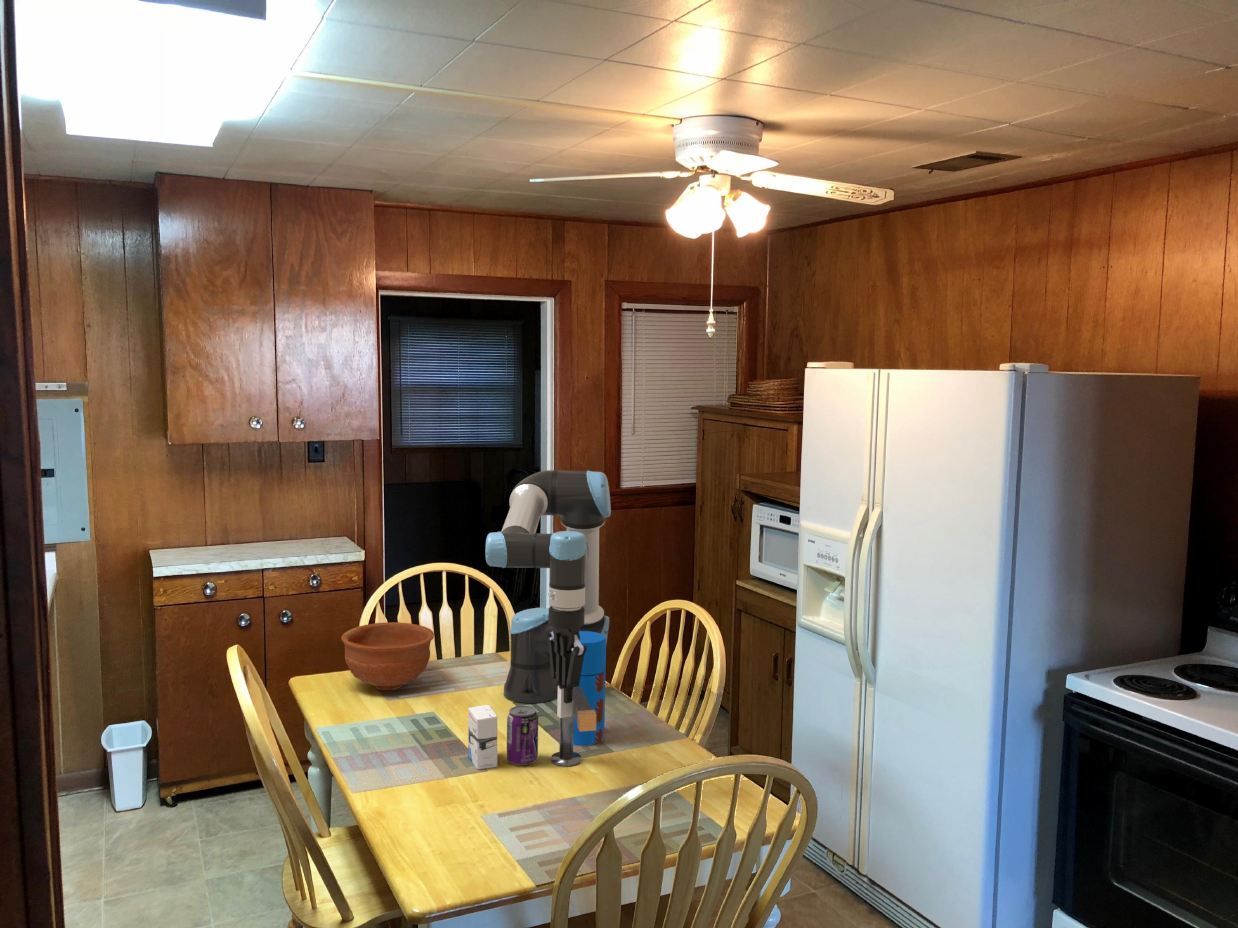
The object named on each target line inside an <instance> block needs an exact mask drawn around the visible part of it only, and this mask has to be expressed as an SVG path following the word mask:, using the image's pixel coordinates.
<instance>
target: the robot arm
mask: <svg viewBox="0 0 1238 928" xmlns="http://www.w3.org/2000/svg"><path fill="white" fill-rule="evenodd" d="M511 491H512V492H511V494H510V496H509V502H508V503H509V510H508V513H507V516H506V518H505V520H504V524H503V525H502V529H501V531H497V532H495V531H494V532H489V533H488V534H487V536H486V539H485V561H486V564H487V565H488V566H489V567H497V568H502V569H505V568H519V569H520V568H521V569H522V568H525V569H526V568H529V569H530V568H533V569H534V568H535V569H549V582H548V583H549V584H548V585H549V592H548V593H547V594H548V605H550V606H549V607H535V608H527V609H523V610H522V611H521V610H520V611H519V612H516V613H515V614H514V615H513V616H512V617H511V621H510V622H511V623H510V631H509V633H510V667H509V670H508V674H507V677H506V681H505V683H504V685H503V696H504V698H506V699H508V700H510V701H512V702H517V703H525V704H537V703H545V702H549V701H552V700H555V699H556V698H557V708H556V709H557V710H556V711H557V714H556V715H557V716H556V717H558V718H559V719H560V718H564V717H569V716H572V695H573V687H576V686H579V683H580V677H581V671H582V665H583V659H584V655H585V653H586V650H587V647H586V645H582V644H581V643H580V641H579V640H580V634H579V631H590V632H597V633H600V634H602V635H604V636H605V639H606V644H607V642H608V634H609V628H610V627H609V626H610V617H609V616H607V615H605V610H604V608H603V607H602V606H600V605H599V603H600V602H599V598H600V596H599V595H600V592H599V591H600V590H599V589H600V578H599V577H600V572H599V571H600V529H601V527H603V526H604V525H605V523H606V519H607V518H609V517H610V516H611V514H612V513H611V512H612V508H611V493H610V486H609V481H608V477H607V475H606V474H605V473H604V472H601V471H591V470H552V469H550V470H549V469H548V470H542V471H538V472H535V473H533V474H531V475H528V476H527V477H525V478H523V479H522V480H521V481H519V482H518V483H517V484H516V485H515V487H514V488H513V489H512V490H511ZM543 516H554V517H555V516H557V517H558V516H559V517H560V523H561V525H562V526H563V527H565V529H566V530H564V531H557V532H553V533H538V532H537V529H538V525H539V522H540V519H541V517H543Z"/></svg>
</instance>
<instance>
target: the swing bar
mask: <svg viewBox="0 0 1238 928" xmlns="http://www.w3.org/2000/svg"><path fill="white" fill-rule="evenodd" d="M572 714H573V716H574V718H575V720H576V722H577V727H578V729H579V732H580V731H596V713H595V711H594V710H592V708H591V706H590V704H589V702H588V700H587V699H586V697H585V695H584V693H583V691H582V689H581V687H580V686H576V687H573V695H572Z"/></svg>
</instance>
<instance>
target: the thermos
mask: <svg viewBox="0 0 1238 928" xmlns="http://www.w3.org/2000/svg"><path fill="white" fill-rule="evenodd" d="M579 634H580V640H579V641H580V643H581V644H582V645H586V647H587V650H586V653H585V655H584V659H583V665H582V671H581V677H580V683H579V686H580V687H581V689H582V691H583V693H584V695H585V697H586V699H587V700H588V702H589V704H590V706H591V708H592V710H594V711H595V713H596V731H580V732H579V729H578V727H577V722H576V720H575V718H574V739H573V746H583V747H584V746H592V745H595V744H599V743H601V742H602V741H603V739H604V735H605V723H606V722H605V716H606V715H605V713H606V672H607V670H606V667H607V666H606V665H607V661H606V660H607V643H606V639H605V636H604V635H602V634H600V633H597V632H590V631H579Z"/></svg>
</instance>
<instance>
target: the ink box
mask: <svg viewBox="0 0 1238 928" xmlns="http://www.w3.org/2000/svg"><path fill="white" fill-rule="evenodd" d="M467 709H468V714H467V715H468V717H467V718H468V720H467V721H468V722H467V723H468V725H467V726H468V727H467V728H468V729H467V732H468V733H467V736H468V737H467V738H468V739H467V756H468V758H469V760H470V761H471V762H472V764H473V765H474V766H475V769H476V770H485V769H491V768H497V767H498V716H497V714H496V712H495V711H494V710H493V709H492V707H491V706H490V705H489V704H485V705H479V706H478V705H477V706H471V707H468V708H467Z"/></svg>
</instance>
